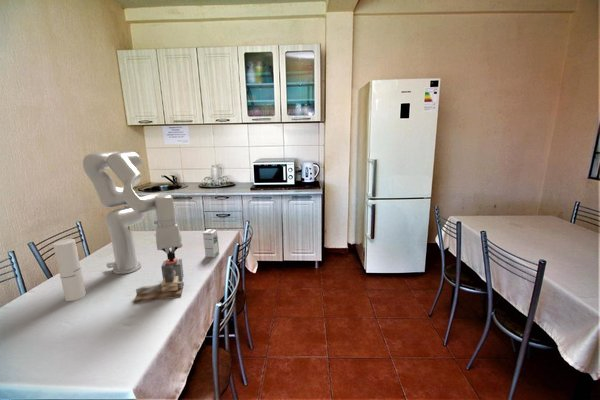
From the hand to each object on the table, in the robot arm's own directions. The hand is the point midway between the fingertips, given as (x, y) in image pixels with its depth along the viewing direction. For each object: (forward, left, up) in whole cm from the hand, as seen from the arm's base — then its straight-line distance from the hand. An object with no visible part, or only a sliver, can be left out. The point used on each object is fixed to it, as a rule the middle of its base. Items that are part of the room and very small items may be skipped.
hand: (171, 260), depth 137 cm
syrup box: (+17, +25, -11) cm, 32 cm away
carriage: (0, -11, -8) cm, 14 cm away
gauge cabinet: (0, 0, -10) cm, 10 cm away
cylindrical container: (-39, -3, -11) cm, 41 cm away
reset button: (0, 0, -6) cm, 6 cm away
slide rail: (-4, -11, -10) cm, 16 cm away
